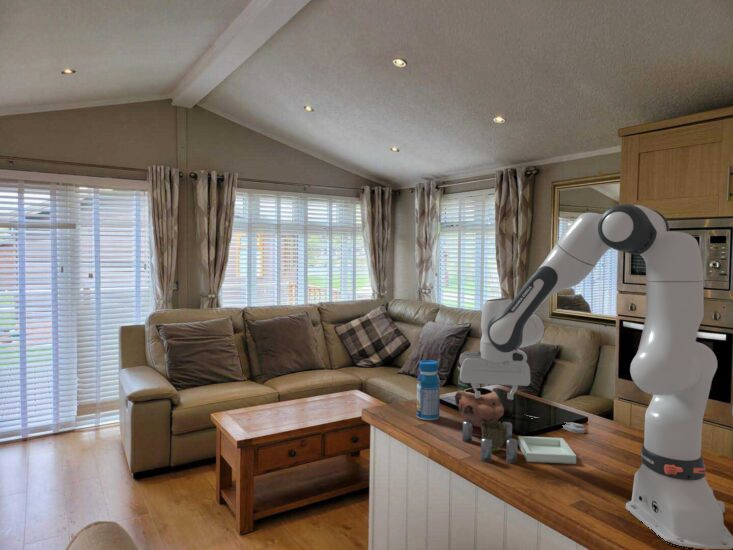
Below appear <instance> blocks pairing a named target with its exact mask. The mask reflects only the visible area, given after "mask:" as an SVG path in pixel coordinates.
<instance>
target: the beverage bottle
mask: <svg viewBox="0 0 733 550" xmlns="http://www.w3.org/2000/svg"><path fill="white" fill-rule="evenodd" d="M418 369H419V370H418V371H419V374H418V376H417V379H416V382H417V384H416V388H415V389H416V412H415V413H416V415H415V416H416V417H417V418H418V419H420V420H422V421H437V420H438V419H439V418H440V393H441V386H440V383H441V379H440V377H439V375H438V372H439V362H438V361H437V360H432V359H422V360H420V361H419V363H418Z"/></svg>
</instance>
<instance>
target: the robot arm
mask: <svg viewBox="0 0 733 550" xmlns="http://www.w3.org/2000/svg"><path fill="white" fill-rule="evenodd" d="M611 249H613V250H616V251H618V252H623V253H627V254H630V255H634V256H639V255H640V256H641V258H643V260H644V262H645V280H646V281H645V317H644V323H643V328H642V333H641V338H640V341H639V345H638V349H637V352H636V354H635V355H634V357H633V358H632V360H631V363H630V367H629V372H630V376H631V379H632V381H633V382H634V384H635V385H636V386H637V388H639V389H640V390H641V391H642V392H645V393H646V394H648V395H652V398H651V400H650V403H649V405H648V407H647V408H646V411H645V415H644V434H643V437H644V438H643V439H644V440H643V444H642V445H641V450H640V455H641V457H640V461H641V465H640V466H639V469H637V471H635V473H634V478H633V485H632V494H631V500H630V501H629V500H628V501H627V502H626V503H625V509H626V510H627V511H630V513H631V514H632V515H633V516H634V517H635V518H636V519H638V520H639V521H640V522H641V521H642V522H643V524H644V525H645V526H646V527H647V528H648V527H649V528H648V529H649V530H651V529H652V530H653V531H654V532H655V533H656V534H655V533H654V532H653V531H652V530H651V531H652V532H653V533H654V534H655V535H657V536H658V535H659V536H660V537H661V538H663V539H664V540H665V541H668V542H671V543H673V544H676V545H679V546H685V547H686V546H687V547H694V548H705V549H732V548H733V534H731V532H730V531H729V529H728V528H727V526H726V525H725V524H724V514H723V513H725V512H726V505H725V504H724V502H723V501H720V500H717V499H716V496H715V495H714V489H713V488H712V487H710V486H709V483H708V481H707V479H706V478H705V476H706V474H707V473H706V470H707V468H705V466H706V465H705V462H704V458H703V456H702V454H701V452H702V451H701V450H702V433H703V431H702V430H703V422H704V415H705V413H706V412H705V411H706V408H707V404H708V399H709V396H710V391H711V387H712V381H713V378H714V377H715V374H716V371H717V370H718V360H717V356H716V354H715V353H714V351H713V350H712V349H711V348H710V347H709V346H707V345H706V344H704V343H701V342H698V341H697V337H698V332H699V328H700V325H701V323H702V321H703V319H704V315H705V313H704V312H705V311H704V298H705V297H704V269H703V260H702V255H701V250H700V247H699V243H698V240H697V238H695V236H693V235H691V234H689V233H686V232H681V231H670V225H669V222H668V220H667V218H666V217H665V216H664V215H663V214H661V212H659V211H657V210H654V209H650V208H649V207H647V206H643V205H639V204H638V205H637V204H628V203H623V204H617V205H615V206H612V207H611V208H608V209H607V210H606V211H605V212H603V214H599V213H597V212H585V213H582V214H580V215H579V216H578V217H577V218H576V219H575V220H574V221H573V222H572V223H571V224H570V225H569V226H568V227H567V228H566V230H565V231H564V232H563V233H562V235H561V236H560V237H559V239H558V240H557V242H556V243H555V245H554V247H553V248H552V249H551V251H550V252H549V253H548V255H547V257H546V258H545V259H544V261H543V262H542V263H541V265H540V266H539V267H538V268H537V270H536V271H535V272H534V274H532V275H531V277H530V278H528V280H527V282H525V284H524V285H523V287H522V288H521V289H520V290H519V291H518V293H517V294H516V295H515V296H514V298H513V299H511V298H507V297H503V298H502V297H501V298H492V299H491V298H490V299H487V300H486V301H485V302H484V303H483V305H482V310H481V319H480V329H481V338H480V340H479V341H480V344H479V345H480V346H479V351H468V350H467V351H466V350H465V351H464V352H462V353H461V354H460V355H459V359H458V360H459V363H460V365H461V369H460V380H461V381H462V382H463V383H472V384H471V385H472V387H473V389H474V391H475V398H480V395H481V393H480V391H477V390H476V388H475V387H477V384H481V385H502V386H505V385H506V386H511V390H510V391H509V392H507V393H506V398H507V400H508V401H513V400H514V395H515V393H516V392H517V390H518V386H519V387H521V386H524V387H528V386H529V385H530V384H531V369H530V365H529V364H528V362H527V360H528V355H527V354H526V353H525V352H524V351H523V350H521V349H522V348H526V347H530V346H533V345H535V344H538V343H539V342H541V341H542V340H543V337H544V336H545V330H546V329H545V325H544V322H543V319H542V318H541V317H540V316H539V315H538V314H536V312H537V311H538V310H539V308H541V306H542V305H543V303H545V301H547V300H548V299H550V298H551V297H552V296H553V295H556V294H557V293H559V292H561V291H564V290H567V289H569V288H572V287H574V286H575V287H576V286H578V284H580V283H581V282H582V281H584V280H585V278H586V277H588V275H589V274H590V273H591V272H592V271H593V269H594V268H595V267H596V265H597V264H598V263H599V261H600V260H601V258H602V257H603V256H604V255H605V253H607V252H608V251H609V250H611ZM642 522H641V523H642ZM659 536H658V537H659ZM660 537H659V538H660ZM661 538H660V539H661ZM663 539H662V540H663ZM664 540H663V541H664ZM665 541H664V542H665ZM723 544H725V545H723ZM679 546H678V547H679Z"/></svg>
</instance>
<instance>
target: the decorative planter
mask: <svg viewBox="0 0 733 550" xmlns="http://www.w3.org/2000/svg"><path fill="white" fill-rule="evenodd" d="M476 390H477V391H480V393H481V395H480V398H475V391H474V389H473V388H469V389H465V390H464V391H458V390H457V391H456V393H455V396H454V398H455V404H456V405H457V406H458V411H459V413H460V415H461V417H462V422H463V421H464V420H469V421H472V422H473V430H472V436H477V437H482V428H481V422H483V421H489V422H491V421H493V422H495V421H496V422H497V423H499V421H498V420H499V419H501V418H502V417H503V416H504V413H505V408H504V406H503V404H502V403H501V402H502V401H501V399H500V397H499V395H498V392H495V391H493V390H492V389H488V388H485V387H482V388H476ZM460 396H462V398H461V400H460V402H459V398H460Z"/></svg>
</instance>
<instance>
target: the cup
mask: <svg viewBox="0 0 733 550" xmlns="http://www.w3.org/2000/svg"><path fill="white" fill-rule="evenodd" d="M481 428H482V436H481V438H482V437H489V438H491V439H492V453H498V452H500V450H501V448H500V447H502V446H503V445H505V444H504V441H505V437H506V430H507V427H506V424H505V423H503V422H501V421H498V423H497V422H496V421H495V422H493V421H491V422H490V423H489V421H487V423H486V422H485V421H483V423H482V422H481Z"/></svg>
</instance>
